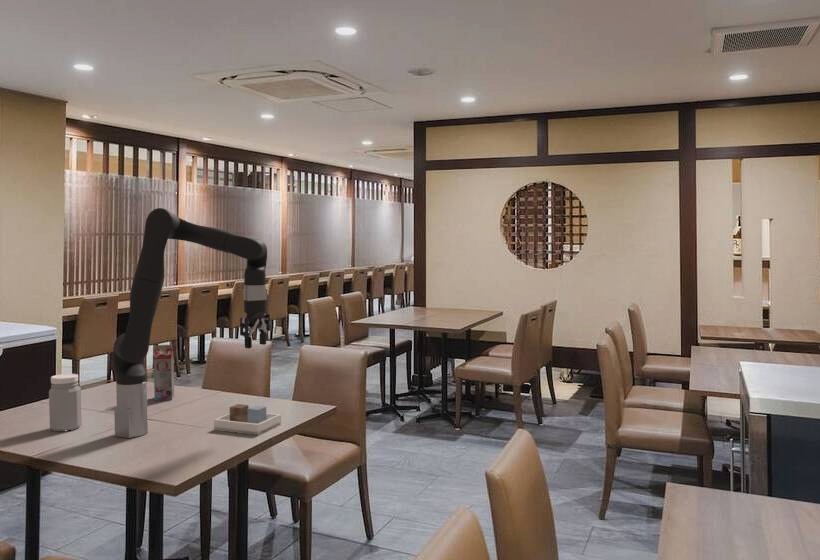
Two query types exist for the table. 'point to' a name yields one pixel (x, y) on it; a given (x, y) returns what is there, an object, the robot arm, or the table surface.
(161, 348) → the printed cardboard box
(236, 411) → the walnut block
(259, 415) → the slate block
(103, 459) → the table surface
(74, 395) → the jar
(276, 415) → the tray
